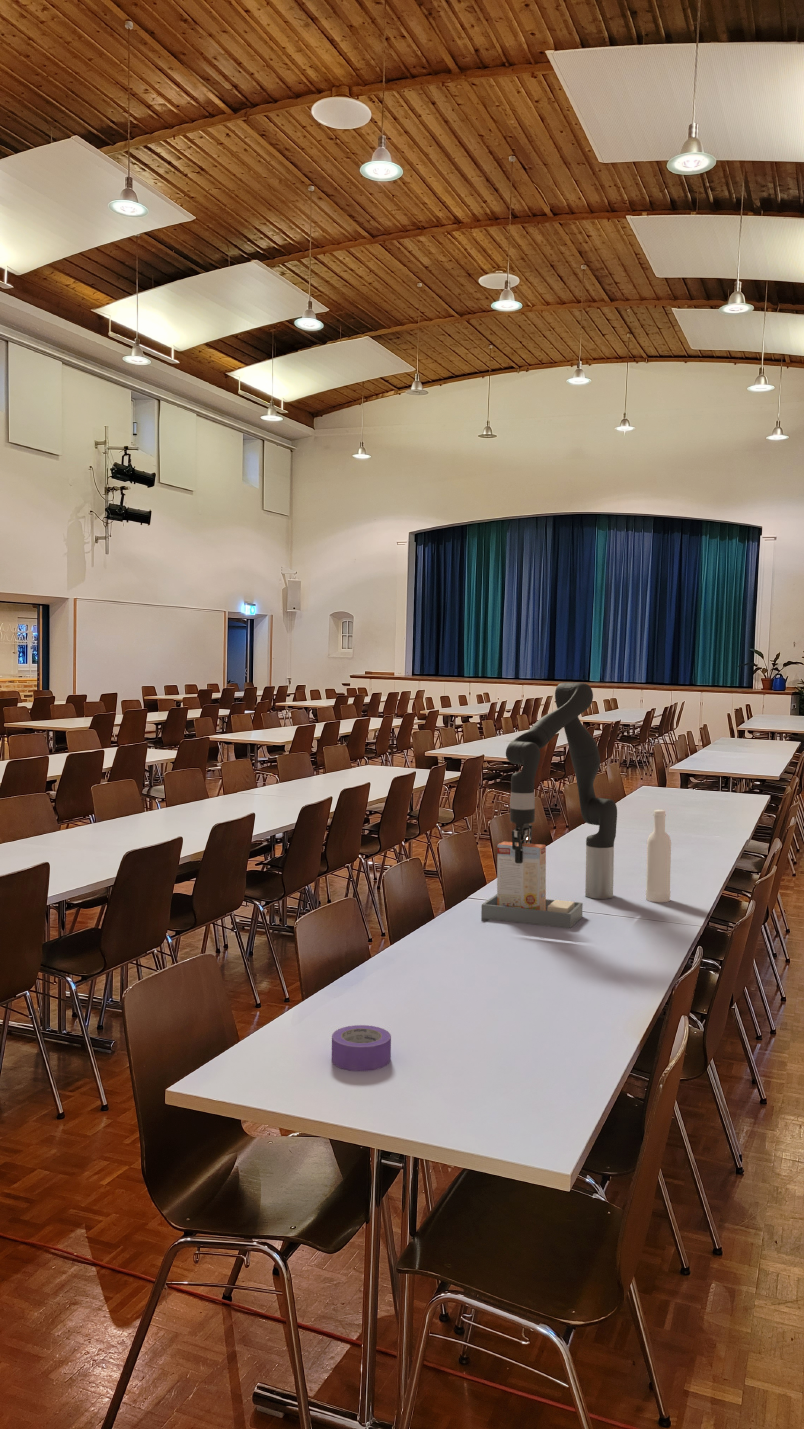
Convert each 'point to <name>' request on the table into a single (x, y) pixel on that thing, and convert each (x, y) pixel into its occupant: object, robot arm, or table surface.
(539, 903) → the cracker box
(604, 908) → the table surface
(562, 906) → the beige block
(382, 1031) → the tape roll
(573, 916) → the tote
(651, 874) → the bottle
